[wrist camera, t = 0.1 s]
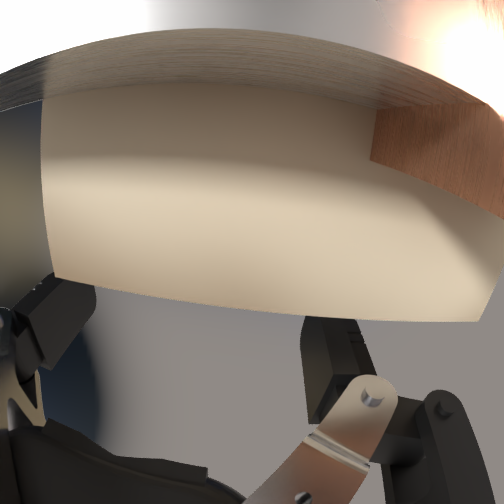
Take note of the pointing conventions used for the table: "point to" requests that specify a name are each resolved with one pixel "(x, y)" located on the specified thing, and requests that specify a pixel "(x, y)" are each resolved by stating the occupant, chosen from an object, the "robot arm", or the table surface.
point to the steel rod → (292, 66)
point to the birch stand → (255, 206)
